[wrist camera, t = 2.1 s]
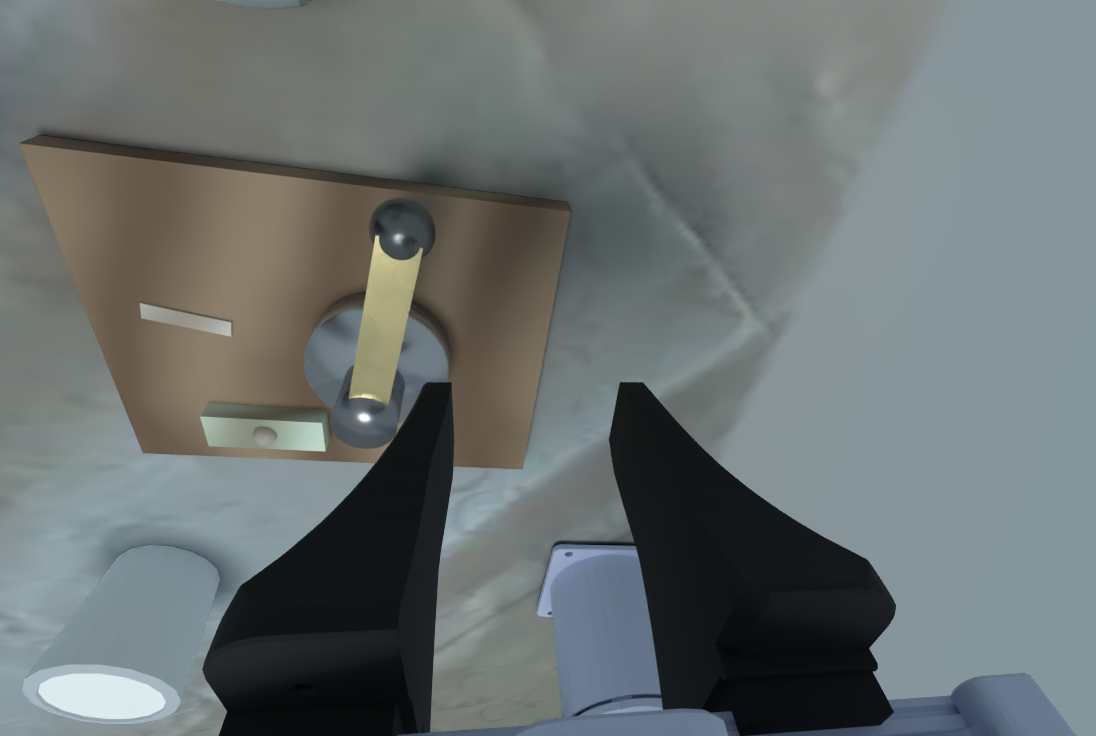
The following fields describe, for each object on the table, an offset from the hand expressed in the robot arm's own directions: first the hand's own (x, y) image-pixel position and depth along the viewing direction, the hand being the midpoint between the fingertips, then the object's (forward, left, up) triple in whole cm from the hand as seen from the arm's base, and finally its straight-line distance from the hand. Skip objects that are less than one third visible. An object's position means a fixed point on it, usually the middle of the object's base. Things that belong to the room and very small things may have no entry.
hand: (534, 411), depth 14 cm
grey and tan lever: (+5, +2, -9) cm, 10 cm away
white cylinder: (+18, +23, -10) cm, 31 cm away
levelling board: (+7, +5, -10) cm, 13 cm away
